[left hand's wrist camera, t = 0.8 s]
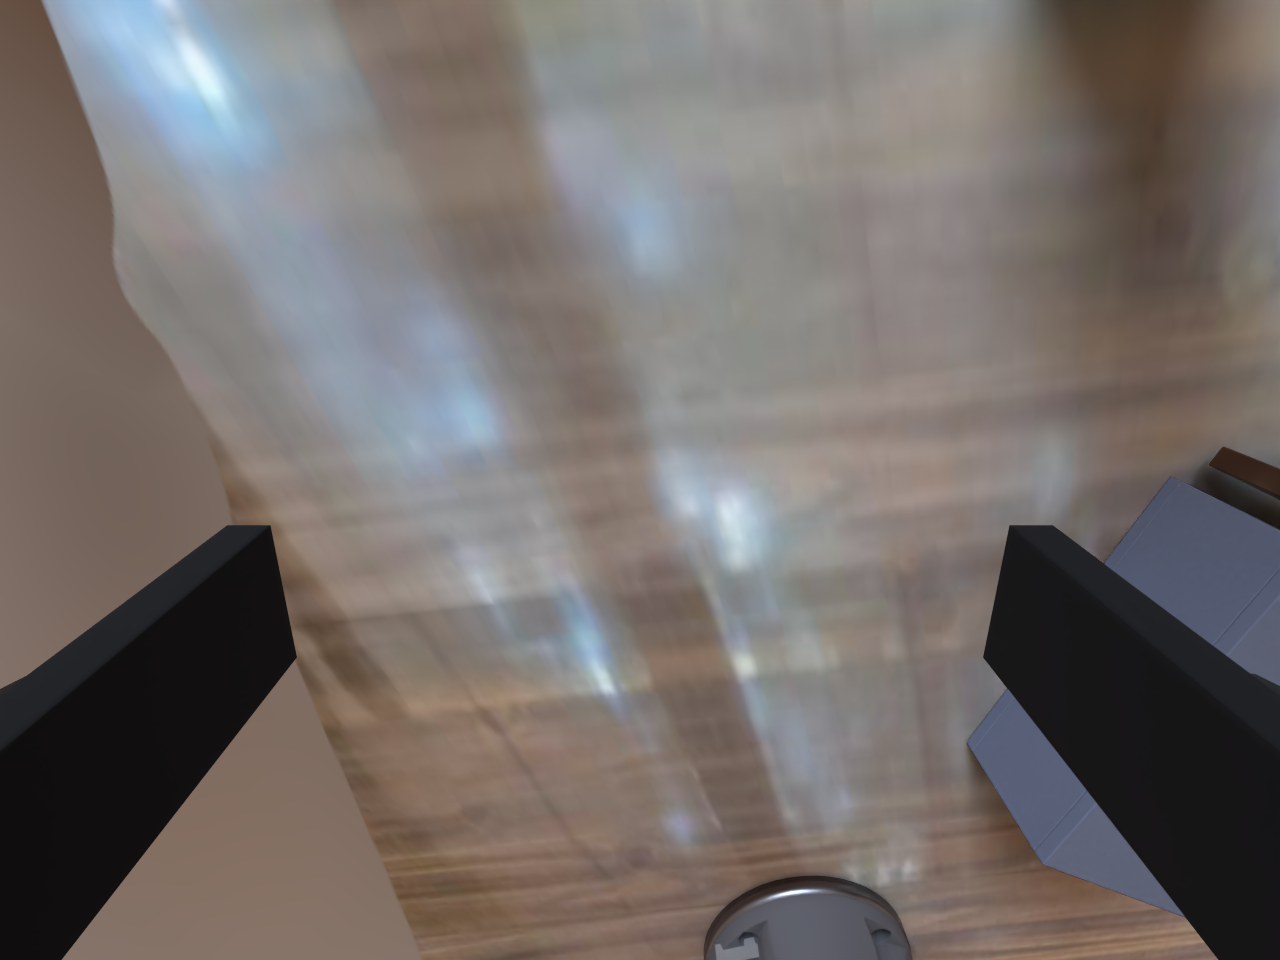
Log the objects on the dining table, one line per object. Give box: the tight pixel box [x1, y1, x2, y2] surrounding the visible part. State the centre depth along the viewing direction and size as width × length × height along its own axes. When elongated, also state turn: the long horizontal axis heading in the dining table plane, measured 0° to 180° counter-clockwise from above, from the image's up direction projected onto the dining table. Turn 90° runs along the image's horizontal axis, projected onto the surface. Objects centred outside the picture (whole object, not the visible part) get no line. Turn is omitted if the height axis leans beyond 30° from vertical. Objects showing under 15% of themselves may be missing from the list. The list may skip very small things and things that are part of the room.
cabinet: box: [967, 477, 1280, 918], centre depth 40 cm, size 21×10×10 cm, turn 156°
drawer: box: [1209, 447, 1280, 530], centre depth 38 cm, size 25×9×8 cm, turn 156°
